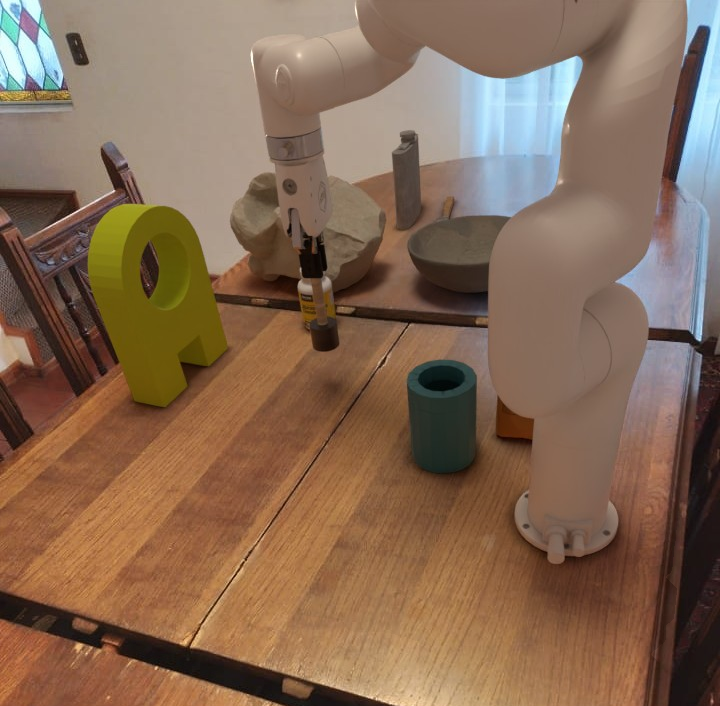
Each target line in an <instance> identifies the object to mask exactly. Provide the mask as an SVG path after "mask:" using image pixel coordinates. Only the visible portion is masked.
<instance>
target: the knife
mask: <svg viewBox="0 0 720 706" xmlns="http://www.w3.org/2000/svg"><path fill="white" fill-rule="evenodd" d="M454 203H455V196H454V195H453V196H447V197H446V198H445V203H444V206H443V212H442V213H443V214H442V216H439V217H437V218H436V219H435V222H438V221H442V220H447V219H450V217H451V212H452V210H453V207H454Z"/></svg>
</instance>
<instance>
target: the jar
mask: <svg viewBox="0 0 720 706" xmlns="http://www.w3.org/2000/svg"><path fill="white" fill-rule="evenodd" d="M406 377H407V378H406V389H407V390H406V393H407V394H406V395H407V406H408V408H407V409H408V420H409V421H408V423H409V435H410V447H411V448H410V449H411V452H412V454H411V456H412V459H413V461H414V462H415V464H416V465H417V466H418V467H420V468H421V469H422V470H426V471H427V472H430V473H435V474H451V473H455V472H458V471H462V470H464V469H465V468H467V467H468V466H470V465H471V464H472V463H473V461H474V460H475V458H476V455H477V405H478V403H477V402H478V401H477V400H478V399H477V397H478V396H477V395H478V394H477V393H478V392H477V391H478V387H477V386H478V376H477V373H476V372H475V370H474V369H473V367H471V366H470V365H468V364H467V363H465V362H463V361H458V360H454V359H434V360H429V361H425V362H423V363H420V364H419V365H416V366H414V367H413V369H412V370H411V371H409V372H408V373H407V376H406Z"/></svg>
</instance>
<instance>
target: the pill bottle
mask: <svg viewBox="0 0 720 706" xmlns="http://www.w3.org/2000/svg"><path fill="white" fill-rule="evenodd" d="M324 275H325V271H323V277H322V278H321V281H322V287H323V294H324V301H325V307H326V314H327V316H328V317H333V318H334V319H336V320H337V315H336V313H337V312H336V307H335V298H334V293H333V290H332V283H331V281H330V279H329V278H328V277H326V276H324ZM300 276H301V278H302V279H301V280H300V279H299V281H298V283H297V293H298V297H299V298H298V300H299V305H300V311H301V316H302V321H303V326H304V327H306V329H308V330H310V327H309V323H310V322H311V321H312V320H313V319H315V318H317V316H316V309H315V303H314V297H313V291H312V284H311V278H303V277H302V272H301V268H300Z"/></svg>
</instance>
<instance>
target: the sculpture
mask: <svg viewBox="0 0 720 706" xmlns="http://www.w3.org/2000/svg"><path fill="white" fill-rule="evenodd" d="M327 177H328V182H329V188H330V194H331V200H332V206H333V214H332V216H331V218H330V220H329V221H328V223H327V224H326V226H325V227H324V229H323V235H324V243H323V244H324V246H325V253H326V260H327V267H328V268H327V270H326V271H325V275H324V276H326V277H328V278H329V279H330V281H331V283H332V290H333V294H335V293H337V292H339V291H340V290H346V289H347V288H350V287H352V286H353V285H355V284H357V283H358V282H360V281H361V280H362V279H363V278H364V277H365V276H366V275H367V273H368V272H369V270H370V268H371V266H372V264H373V261H374V260H375V259H376V256H377V253H378V251H379V249H380V247H381V244H382V243H383V240H384V233H385V229H386V224H387V215H386V211H385V210H384V208H383V207H381V206H379V205H378V204H377V202H376V201H375V200H374V198H373V197H372V196H370V195H369V194H367V192H366V191H365V190H363V189H362V188H360V187H358V186H356V185H353V184H351V183H350V182H348V181H347V180H345V179H342V178H340V177H339V176H334V175H330V176H327ZM229 225H230V229H231V230H232V232H233V234H234V236H235V238H236V240H237V242H238V244H239V245H240V246H242V248H243V250H244V251H246V252H248V253H250V254H251V255H250V256H249V257H248V260H247V261H248V262H247V266H248V268H249V270H250V271H249V272H251V273H252V274H253V275H256V276H258V277H260V278H262V279H263V280H264V281H266V282H273V281H277V280H278V278H279V277H280V276H286V277H289V278H293V279H297V280H299V281H300V280H301V279H302V278H301V276H300V268H301V266H300V260H299V254H298V253H297V249H293V245H292V237H290V238H289V237H287V236H286V234H285V232H284V229H283V224H282V219H281V214H280V207H279V200H278V193H277V184H276V174H275V172H270V171H264V172H262V173H260V174H258V175H257V176H255V177H253V178H252V179H251V181H250V182H249V184H248V188H247V190H246V191H245V193H244V195H243V196H242V197H241V198H239V199H238V200H236V201H235V202H234V204H233V206H232V209H231V213H230V217H229ZM303 239H304V238H303Z"/></svg>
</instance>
